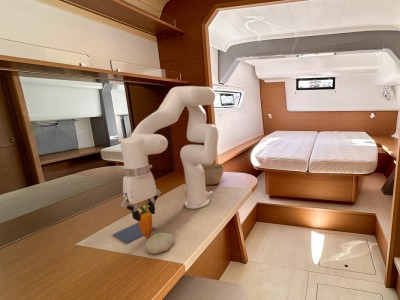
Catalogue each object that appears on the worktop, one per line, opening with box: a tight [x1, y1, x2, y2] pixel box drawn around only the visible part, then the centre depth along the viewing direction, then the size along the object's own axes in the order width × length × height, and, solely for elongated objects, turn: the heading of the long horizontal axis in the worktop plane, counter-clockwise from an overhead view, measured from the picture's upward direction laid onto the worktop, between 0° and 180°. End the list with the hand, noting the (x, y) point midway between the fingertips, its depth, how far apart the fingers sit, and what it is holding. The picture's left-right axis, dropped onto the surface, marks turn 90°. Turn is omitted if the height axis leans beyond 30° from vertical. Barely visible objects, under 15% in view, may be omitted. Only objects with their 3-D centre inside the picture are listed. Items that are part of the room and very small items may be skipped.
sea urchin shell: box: [144, 232, 174, 255], centre depth 80 cm, size 9×8×8 cm
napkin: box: [113, 222, 156, 244], centre depth 90 cm, size 11×11×1 cm
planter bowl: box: [202, 163, 225, 186], centre depth 144 cm, size 16×16×11 cm
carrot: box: [137, 201, 153, 240], centre depth 83 cm, size 5×5×15 cm
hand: (144, 215), depth 83 cm, fingers closed on carrot, 5 cm apart
